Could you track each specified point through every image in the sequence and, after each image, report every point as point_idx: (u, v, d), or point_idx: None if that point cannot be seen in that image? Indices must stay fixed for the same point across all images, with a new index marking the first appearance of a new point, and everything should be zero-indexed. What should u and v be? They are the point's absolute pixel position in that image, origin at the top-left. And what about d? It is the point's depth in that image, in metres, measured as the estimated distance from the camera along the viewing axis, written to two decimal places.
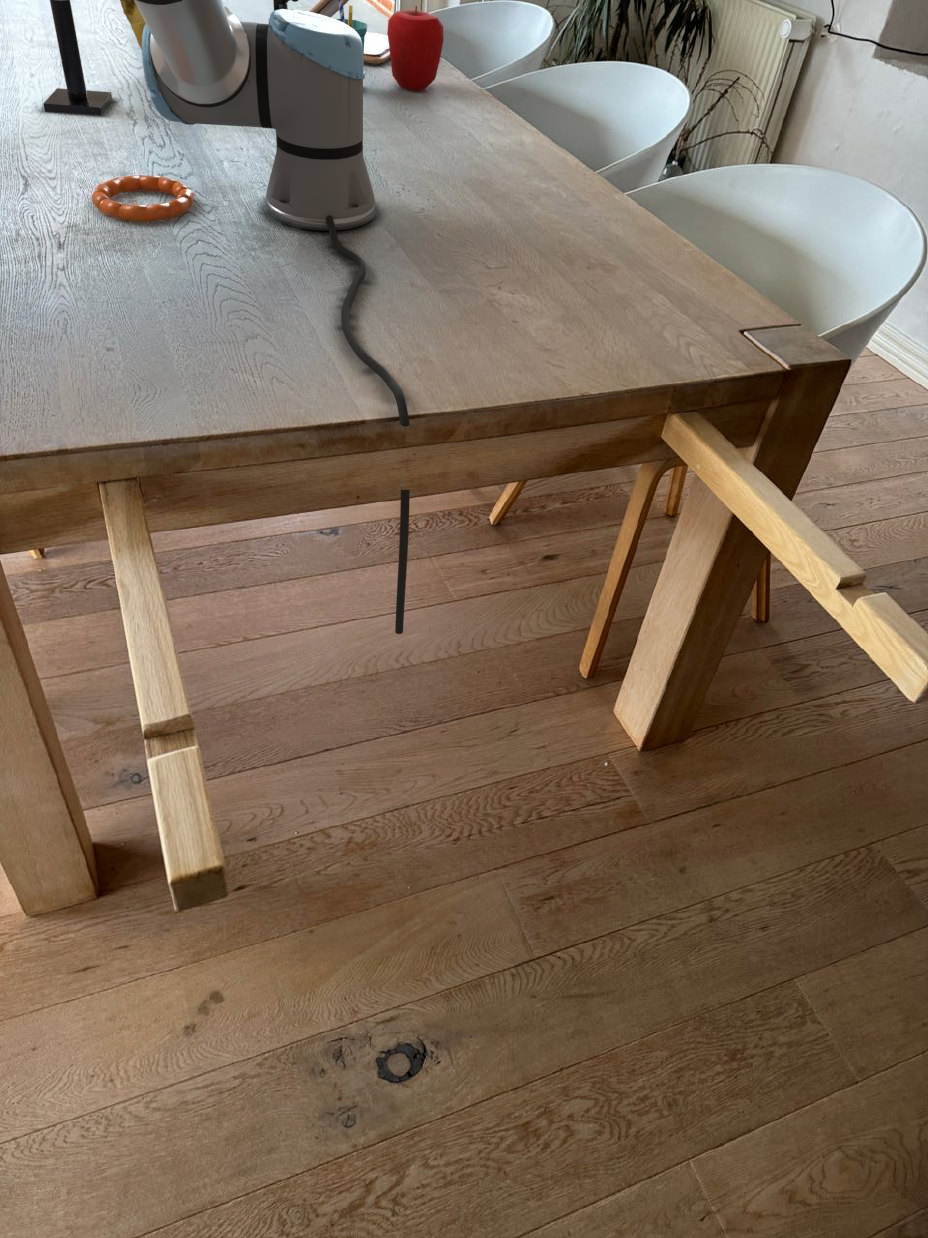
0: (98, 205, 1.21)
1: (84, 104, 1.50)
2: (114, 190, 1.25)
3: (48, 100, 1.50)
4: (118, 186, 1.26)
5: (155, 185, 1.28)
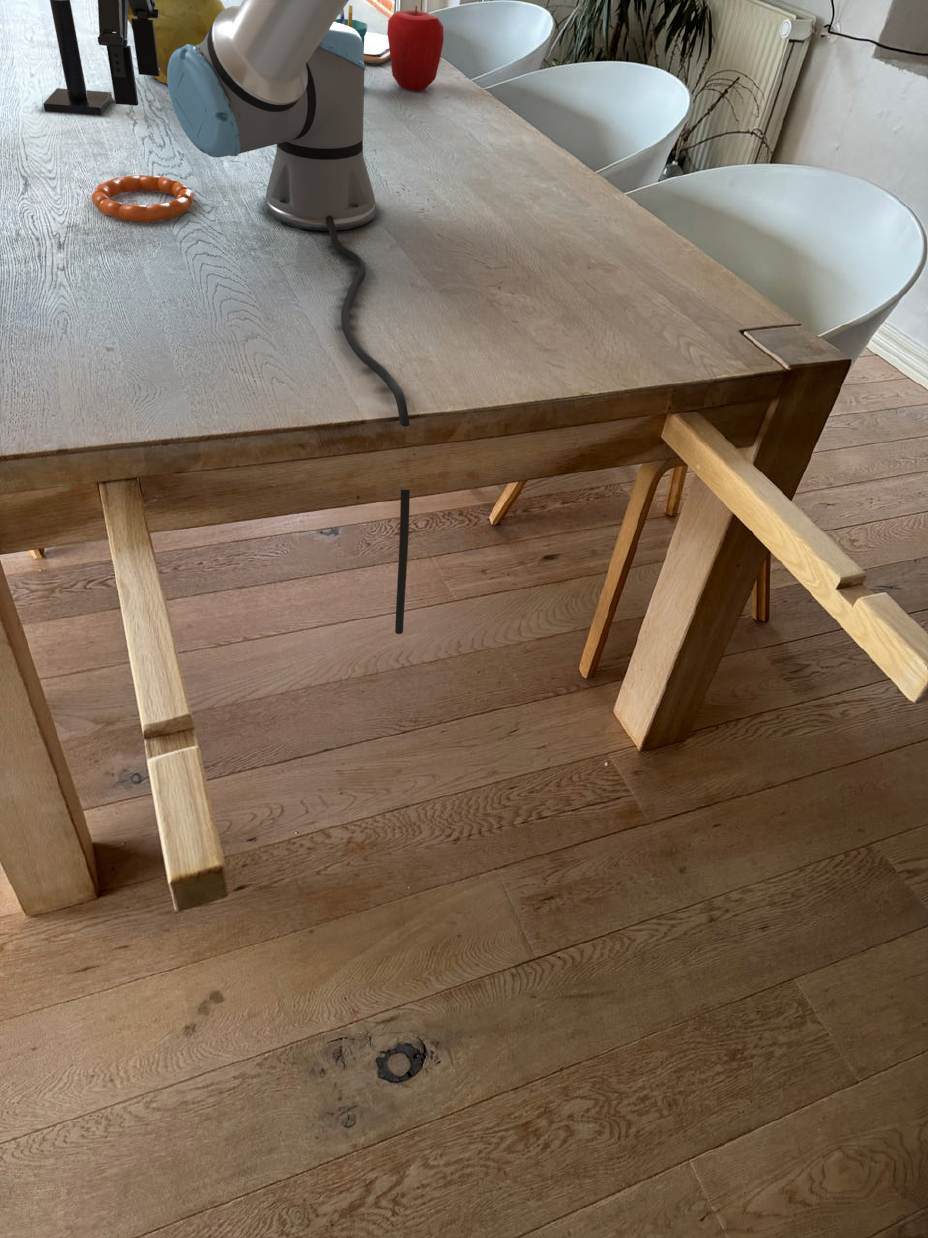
0: (98, 205, 1.21)
1: (84, 104, 1.50)
2: (114, 190, 1.25)
3: (48, 100, 1.50)
4: (118, 186, 1.26)
5: (155, 185, 1.28)
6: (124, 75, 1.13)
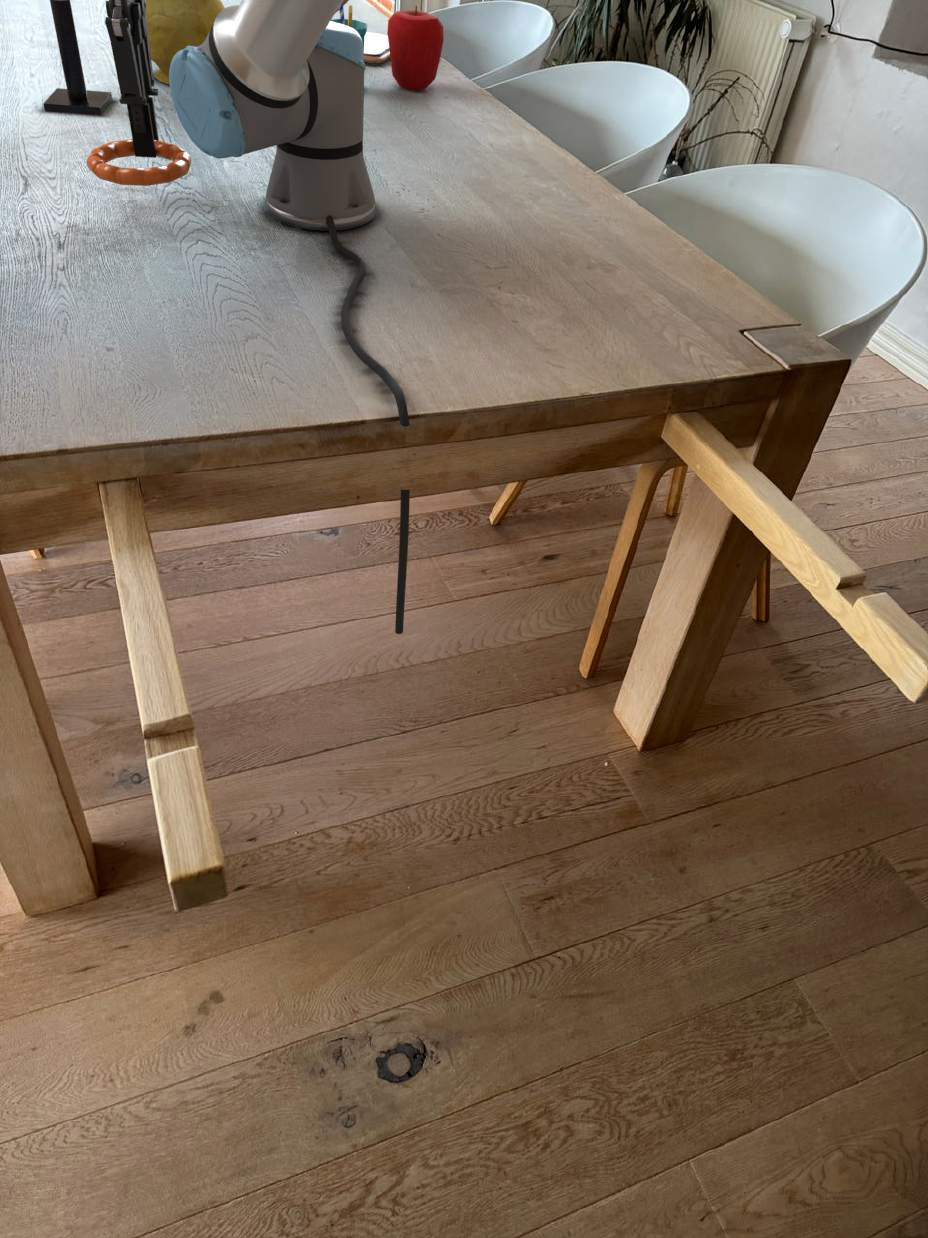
0: (94, 169, 1.17)
1: (84, 104, 1.50)
2: (109, 155, 1.22)
3: (48, 100, 1.50)
4: (113, 150, 1.22)
5: None
6: (144, 130, 1.21)
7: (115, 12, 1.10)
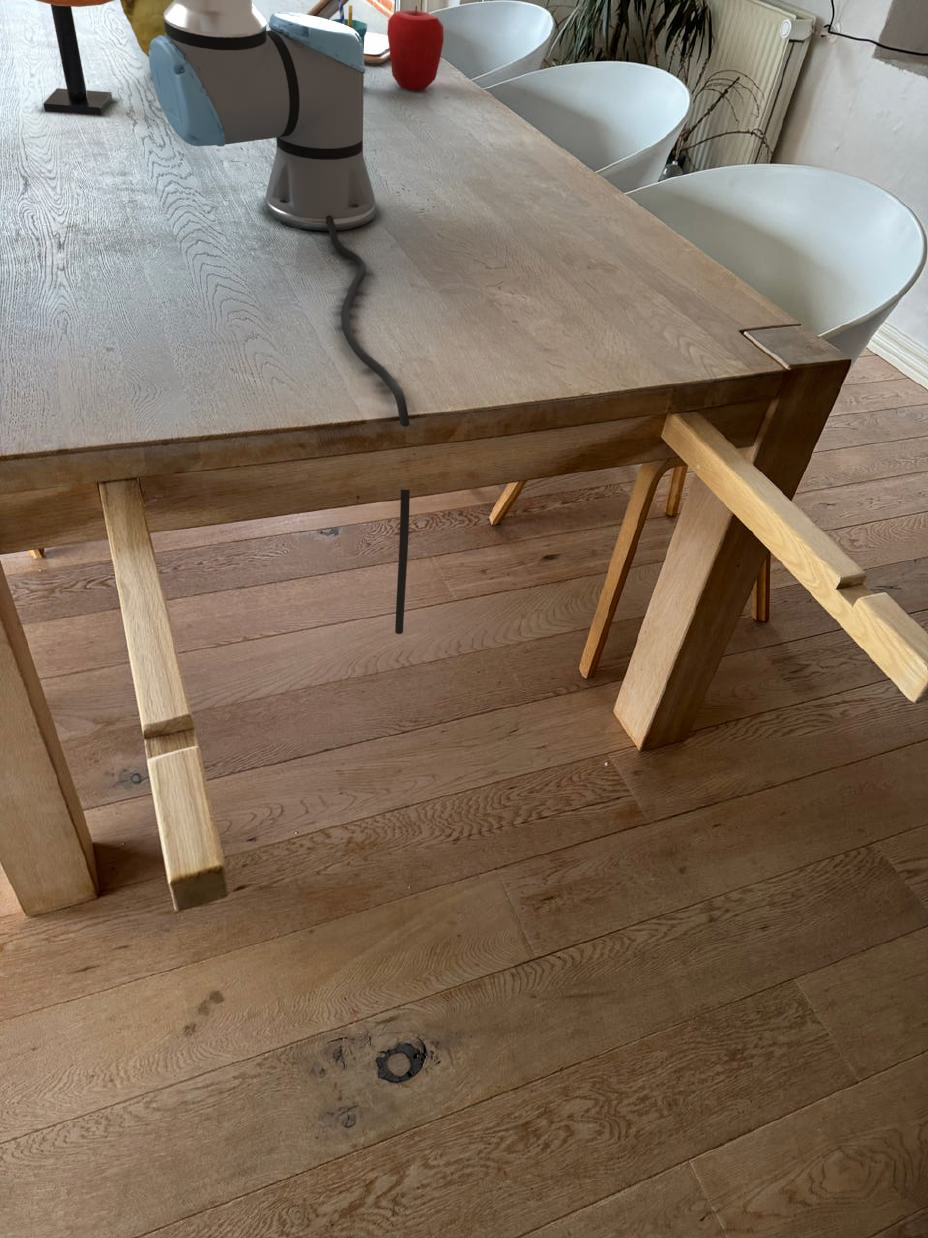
0: None
1: (84, 104, 1.50)
2: None
3: (48, 100, 1.50)
4: None
5: None
6: None
7: None
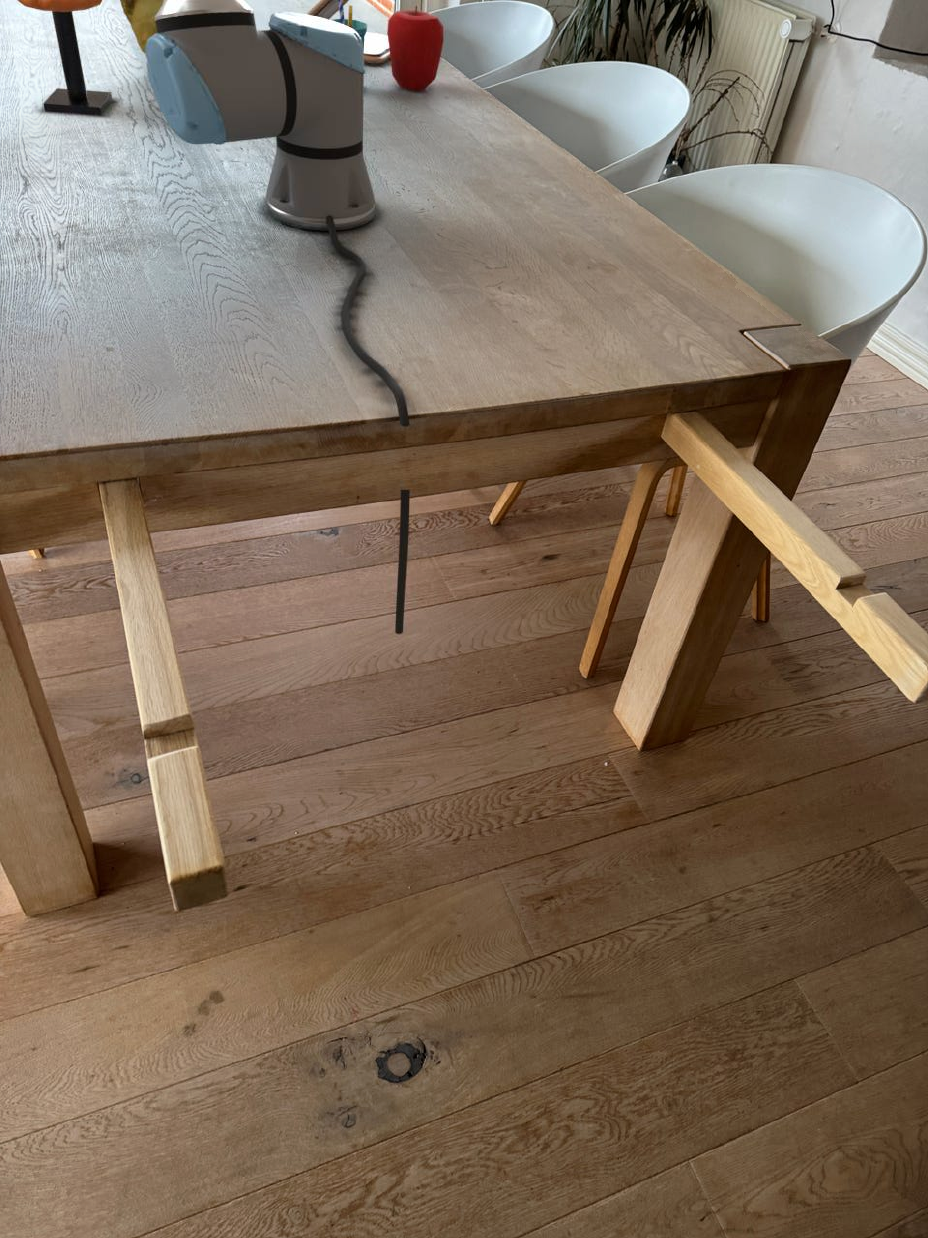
0: None
1: (84, 104, 1.50)
2: None
3: (48, 100, 1.50)
4: None
5: None
6: None
7: None
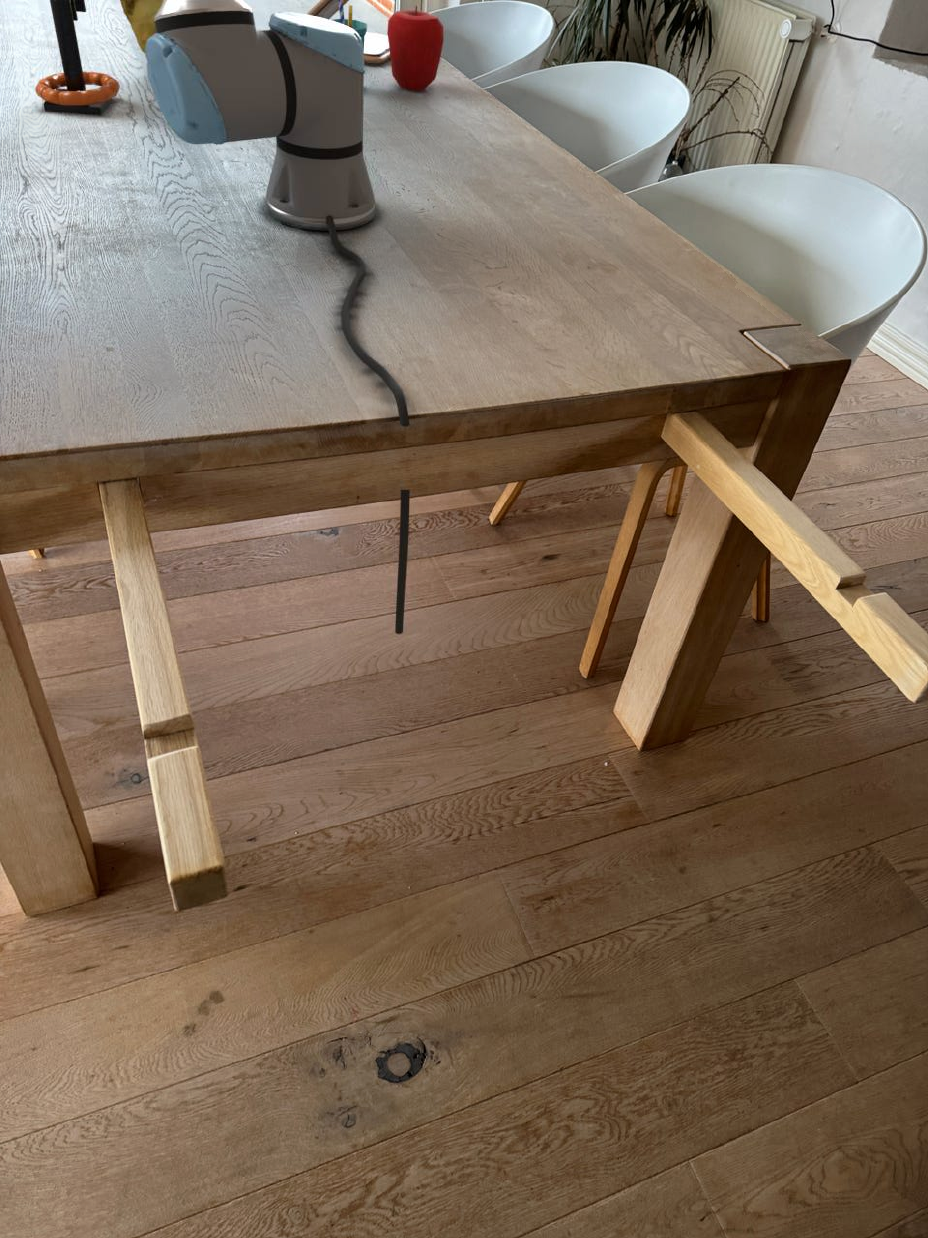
0: (41, 94, 1.48)
1: None
2: (53, 84, 1.53)
3: None
4: (56, 80, 1.53)
5: (87, 78, 1.55)
6: None
7: None
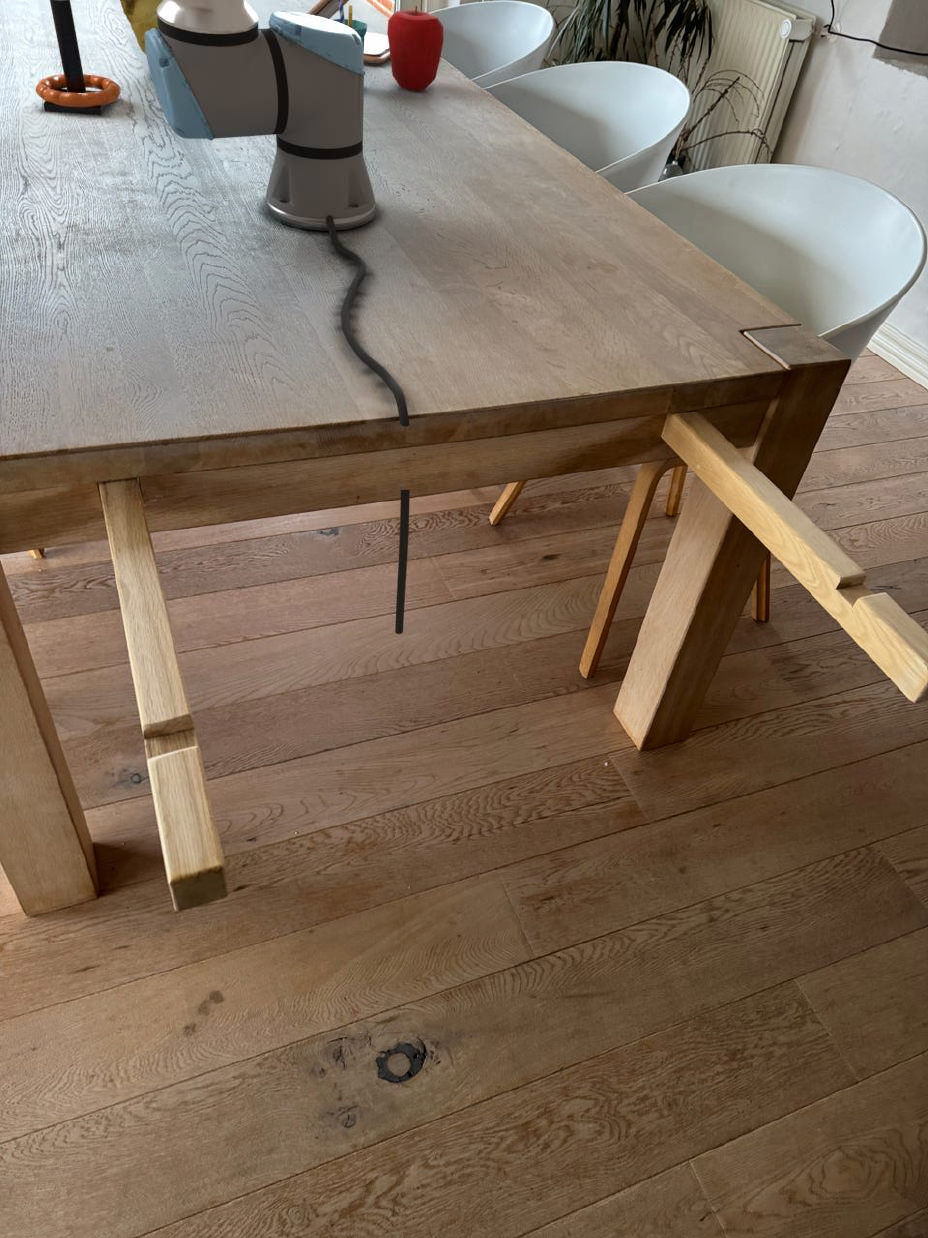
0: (42, 94, 1.48)
1: None
2: (54, 84, 1.53)
3: None
4: (57, 81, 1.53)
5: (88, 81, 1.55)
6: None
7: None
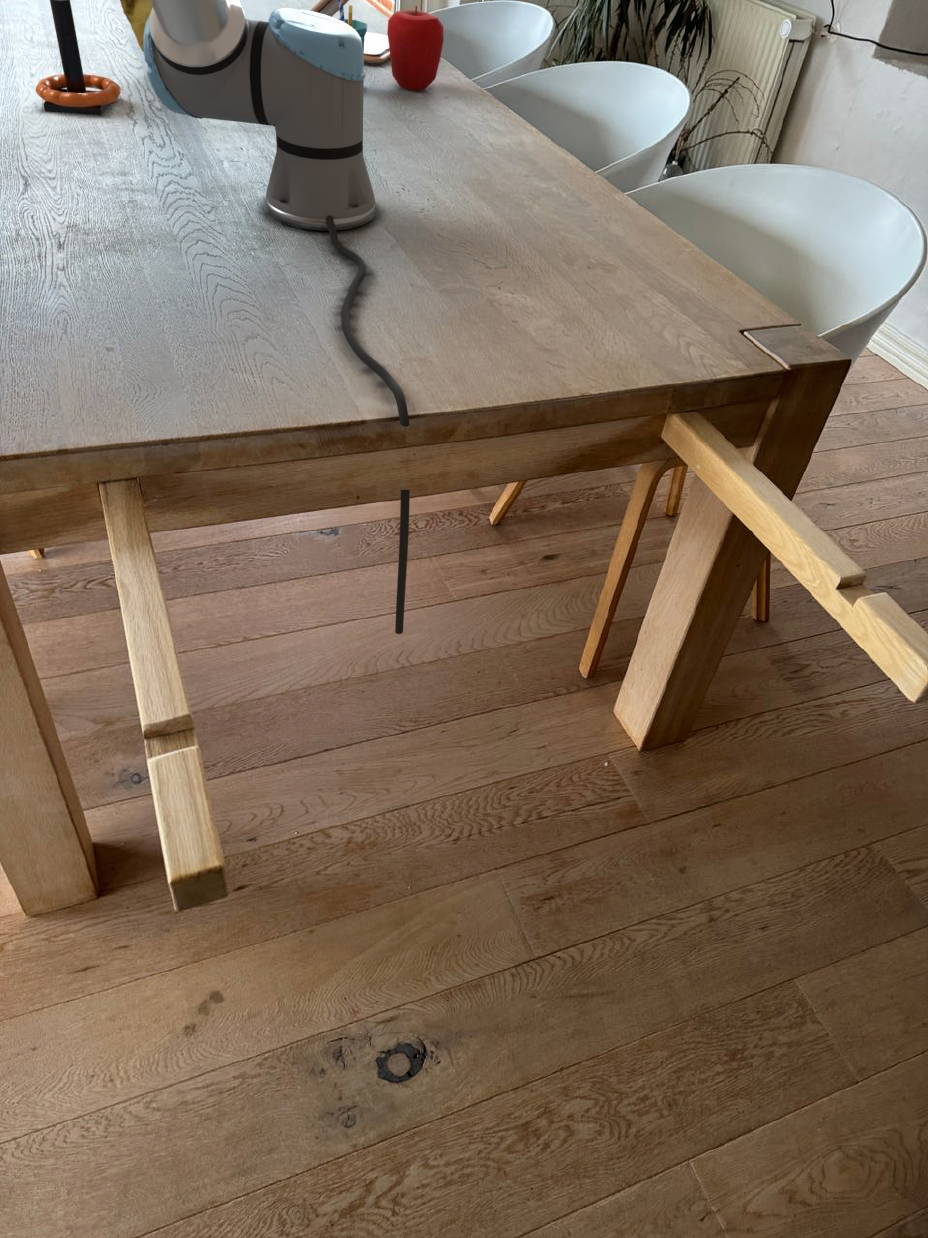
0: (42, 94, 1.48)
1: None
2: (54, 84, 1.53)
3: None
4: (57, 81, 1.53)
5: (88, 81, 1.55)
6: None
7: None
